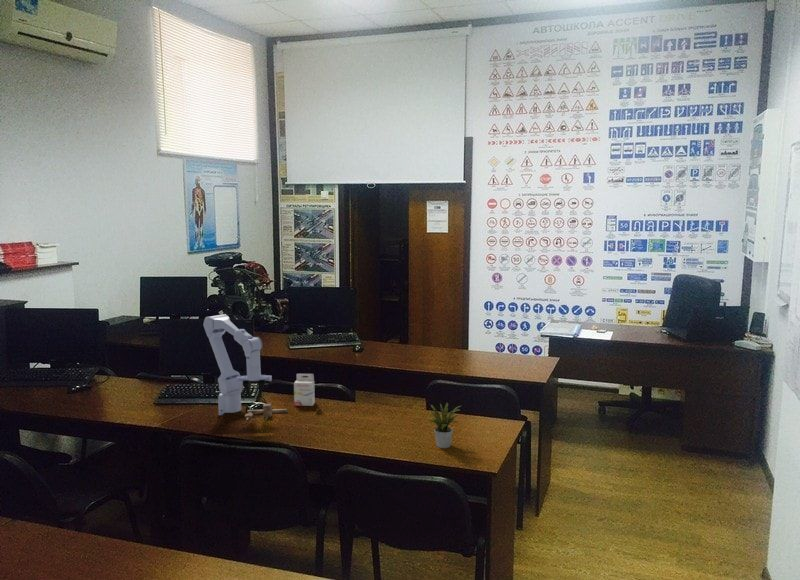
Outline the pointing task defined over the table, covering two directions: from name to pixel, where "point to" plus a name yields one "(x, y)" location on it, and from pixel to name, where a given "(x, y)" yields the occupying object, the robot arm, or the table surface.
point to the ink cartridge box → (304, 390)
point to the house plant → (443, 426)
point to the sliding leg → (267, 410)
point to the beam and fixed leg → (251, 412)
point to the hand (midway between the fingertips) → (255, 397)
